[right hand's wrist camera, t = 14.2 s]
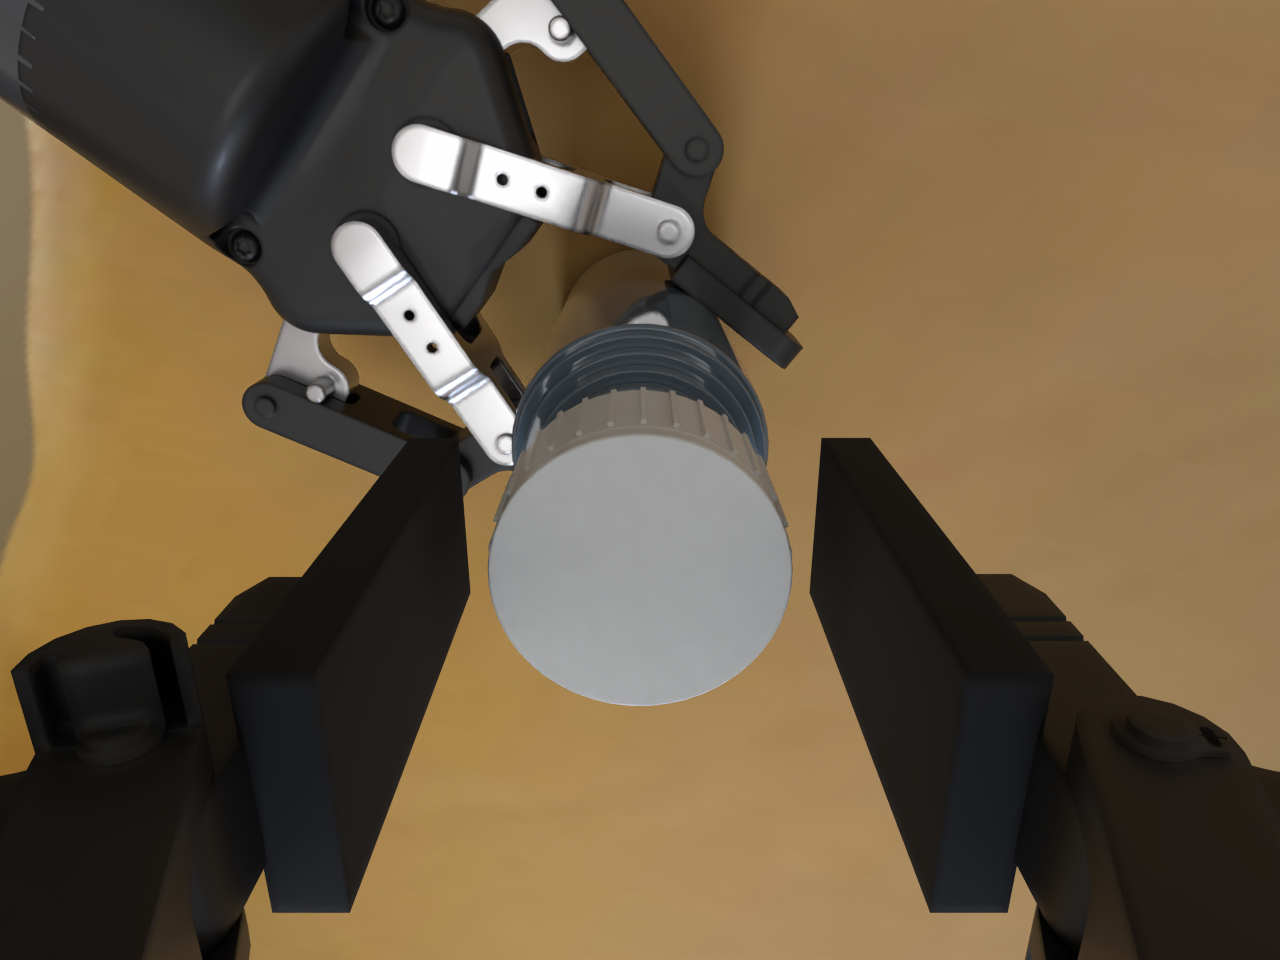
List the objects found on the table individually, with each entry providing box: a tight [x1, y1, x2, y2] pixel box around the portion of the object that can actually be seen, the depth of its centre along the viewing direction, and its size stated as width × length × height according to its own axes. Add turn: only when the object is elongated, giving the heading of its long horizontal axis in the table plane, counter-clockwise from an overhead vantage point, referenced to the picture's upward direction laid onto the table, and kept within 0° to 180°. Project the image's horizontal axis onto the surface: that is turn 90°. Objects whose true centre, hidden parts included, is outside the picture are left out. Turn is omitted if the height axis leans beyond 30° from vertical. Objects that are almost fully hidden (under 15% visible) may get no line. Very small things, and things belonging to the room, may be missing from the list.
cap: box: [488, 387, 792, 706], centre depth 13 cm, size 4×4×2 cm
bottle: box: [511, 249, 769, 469], centre depth 21 cm, size 5×5×17 cm
